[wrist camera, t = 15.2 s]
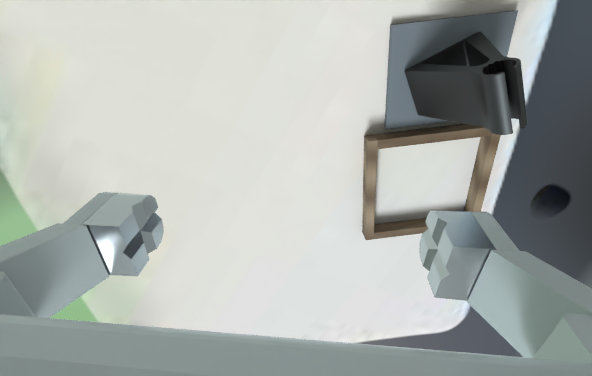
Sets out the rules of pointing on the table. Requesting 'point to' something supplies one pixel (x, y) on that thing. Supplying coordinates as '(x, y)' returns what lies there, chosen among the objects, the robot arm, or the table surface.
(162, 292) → the table surface
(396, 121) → the charcoal mat
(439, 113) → the phone stand
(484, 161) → the walnut frame
